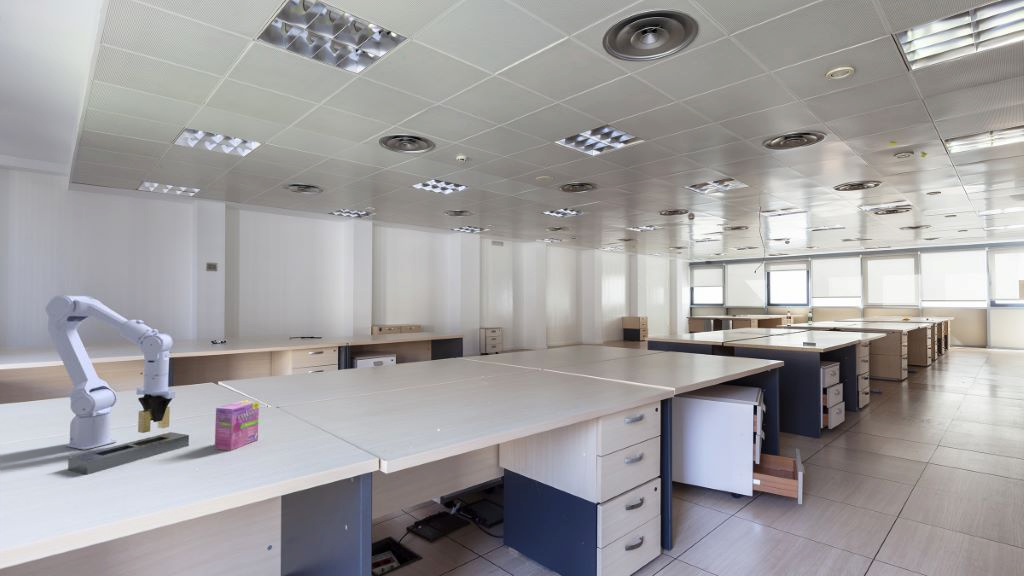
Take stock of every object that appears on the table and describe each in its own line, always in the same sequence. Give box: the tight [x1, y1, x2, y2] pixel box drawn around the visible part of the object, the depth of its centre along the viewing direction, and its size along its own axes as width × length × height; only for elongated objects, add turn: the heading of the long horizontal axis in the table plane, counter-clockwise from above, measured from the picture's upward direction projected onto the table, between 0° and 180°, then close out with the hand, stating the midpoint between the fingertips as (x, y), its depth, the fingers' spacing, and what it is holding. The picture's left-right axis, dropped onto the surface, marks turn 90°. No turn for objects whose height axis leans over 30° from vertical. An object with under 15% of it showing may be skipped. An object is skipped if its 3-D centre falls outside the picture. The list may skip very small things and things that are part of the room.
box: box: [214, 399, 260, 452], centre depth 134 cm, size 10×6×12 cm, turn 168°
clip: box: [137, 406, 171, 434], centre depth 135 cm, size 2×7×6 cm, turn 159°
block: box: [67, 431, 190, 475], centre depth 123 cm, size 8×24×3 cm, turn 159°
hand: (154, 420), depth 135 cm, fingers closed on clip, 2 cm apart
